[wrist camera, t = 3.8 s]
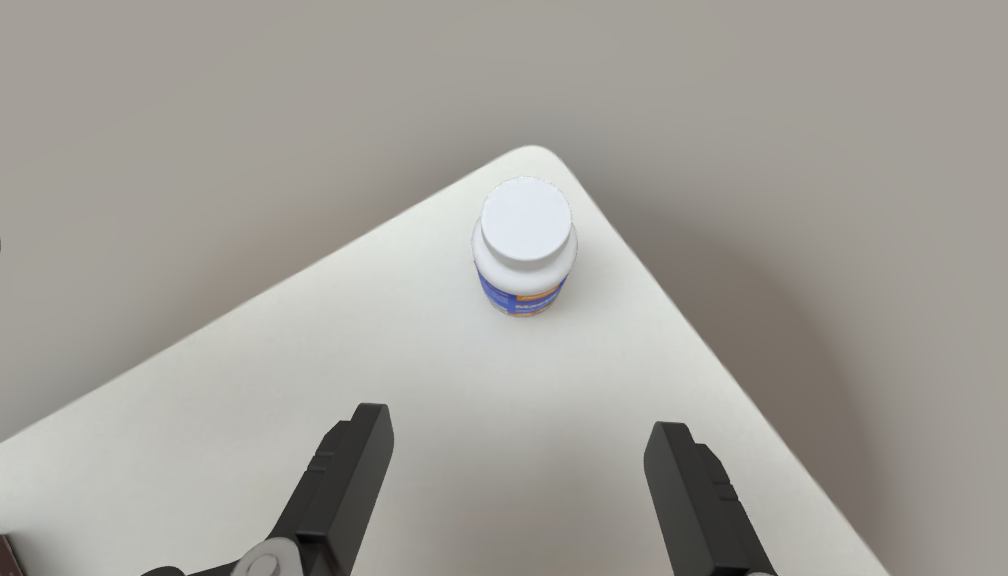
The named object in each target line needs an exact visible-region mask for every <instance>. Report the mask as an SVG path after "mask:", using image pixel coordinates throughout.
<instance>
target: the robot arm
mask: <svg viewBox="0 0 1008 576" xmlns="http://www.w3.org/2000/svg"><path fill="white" fill-rule="evenodd" d="M393 447H394V433H393V429H392V424H391V419H390V414H389V409H388V406H387V405H386V404H375V403H361V404H359V405H358V407H357V409H356V410H355V412H354V414H353V416H352V418H351V420H350V421H342V420H340V421H339V422H338V423H337V424H336V425H335V426H334V427H333V428H332V429H331V430H330V431H329V432H328V433H327V434H326V435H325V436H324V438H323V440H322V441H321V443H320V445H319V447H318V449H317V450H316V452H315V456H313V458H312V460H311V461H310V463H309V465H308V467H307V471H305V472H304V474H303V476H302V478H301V480H300V481H299V483H298V485H297V487H296V489H295V490H294V492H293V494H292V496H291V498H290V499H289V501H288V503H287V505H286V507H285V509H284V510H283V512H282V514H281V516H280V518H279V519H278V521H277V523H276V525H275V527H274V528H273V530H272V531H271V533H270V534H269V535H268V537H267V538H266V539H265V540H264V541H263V542H261V543H259V544H258V545H256V546H254V547H253V548H252V549H250V550H249V551H248V552H247V553H246V554H245V555H244V556H243V557H242V558H241V559H239V560H237V561H235V562H232V563H229V564H226V565H222V566H219V567H215V568H212V569H208V570H205V571H201V572H197V573H194V574H190V575H187V576H350V574H351V571H352V568H353V565H354V563H355V560H356V557H357V554H358V551H359V548H360V545H361V543H362V540H363V537H364V534H365V531H366V528H367V525H368V523H369V520H370V517H371V514H372V511H373V508H374V505H375V502H376V500H377V497H378V494H379V491H380V488H381V485H382V482H383V480H384V477H385V474H386V471H387V468H388V465H389V462H390V460H391V456H392V453H393ZM644 471H645V475H646V479H647V482H648V486H649V489H650V493H651V496H652V500H653V503H654V506H655V510H656V513H657V517H658V520H659V524H660V527H661V531H662V534H663V538H664V541H665V544H666V548H667V551H668V555H669V558H670V562H671V565H672V569H673V572H674V576H778V575H777V573H776V572H775V570H774V569H773V567H772V565H771V563H770V561H769V559H768V557H767V555H766V553H765V551H764V549H763V547H762V545H761V543H760V541H759V539H758V537H757V535H756V532H755V530H754V528H753V526H752V524H751V522H750V520H749V518H748V516H747V514H746V512H745V510H744V508H743V506H742V504H741V502H740V501H739V500H738V496H737V494H736V492H735V490H734V488H733V486H732V485H731V484H730V479H729V477H728V475H727V473H726V471H725V469H724V467H723V465H722V463H721V461H720V460H719V459H718V458H717V457H716V456H715V455H714V453H713V452H712V451H711V450H710V449H709V448H708V447H707V446H706V445H705V444H697V443H695V442H694V440H693V438H692V436H691V433H690V431H689V429H688V427H687V426H686V425H685V424H684V423H676V422H659V421H658V422H656V423H655V424H654V427H653V430H652V433H651V435H650V438H649V441H648V444H647V447H646V449H645V453H644ZM141 576H186V575H185V574H184V573H183V572H182V571H181V570H180V569H178V568H176V567H172V566H165V567H160V568H156V569H153V570H151V571H149V572H147V573H145V574H143V575H141Z"/></svg>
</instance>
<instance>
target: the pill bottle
mask: <svg viewBox="0 0 1008 576" xmlns="http://www.w3.org/2000/svg"><path fill="white" fill-rule="evenodd" d="M577 246H578V242H577V234H576V230H575V227H574V225H573V223H572V213H571V209H570V206H569V203H568V201H567V199H566V197H565V196H564V195H563V193H562V192H561V191H560V190H559V189H558V188H557V187H555V186H554V185H553V184H551V183H549V182H548V181H545V180H543V179H539V178H535V177H517V178H514V179H510V180H508V181H505V182H503V183H502V184H500V185H499V186H497V187H496V188H495V189H494V190H493V191H492V192H491V193H490V194H489V195H488V197H487V198H486V200H485V202H484V204H483V207H482V211H481V215H480V217H479V218H478V220H477V222H476V224H475V227H474V230H473V234H472V253H473V258H474V262H475V265H476V268H477V271H478V275H479V278H480V281H481V284H482V287H483V290H484V293H485V295H486V296H487V298H488V300H489V301H490V302H491V304H492V305H493V306H494V307H496V308H497V309H498V310H500V311H501V312H503V313H505V314H508V315H511V316H516V317H527V316H532V315H535V314H538V313H540V312H542V311H543V310H545V309H546V308H547V307H549V306H550V305H551V304H552V302H553V301H554V300H555V299H556V297H557V295H558V293H559V291H560V289H561V287H562V285H563V283H564V281H565V279H566V277H567V276H568V274H569V272H570V270H571V268H572V265H573V263H574V261H575V258H576V254H577Z"/></svg>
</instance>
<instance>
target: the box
mask: <svg viewBox="0 0 1008 576" xmlns="http://www.w3.org/2000/svg"><path fill="white" fill-rule="evenodd" d="M0 576H23V575H22V573H21V570H20V568H19V566H18V564H17V562H16V559H15V557H14V555H13V553H12V550H11V547H10V546H9V544H8V542H7V540H6V538H5V536H4V535H3V534H0Z"/></svg>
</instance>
